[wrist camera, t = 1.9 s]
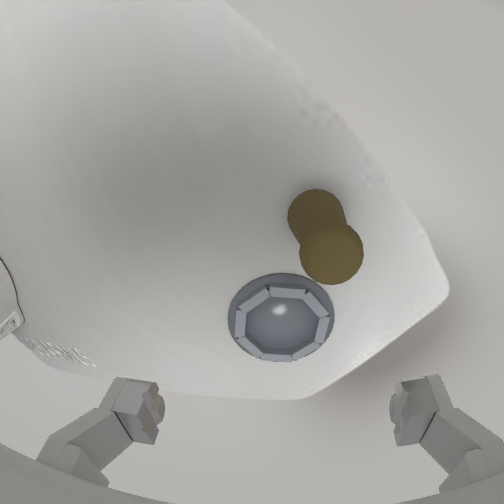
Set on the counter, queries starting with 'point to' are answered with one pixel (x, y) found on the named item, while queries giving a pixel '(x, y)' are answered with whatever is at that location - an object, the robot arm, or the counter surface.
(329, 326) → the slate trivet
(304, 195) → the olive brown pepper mill
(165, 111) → the counter surface
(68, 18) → the counter surface
